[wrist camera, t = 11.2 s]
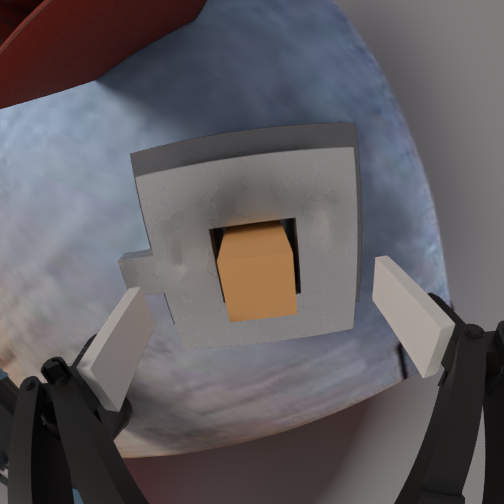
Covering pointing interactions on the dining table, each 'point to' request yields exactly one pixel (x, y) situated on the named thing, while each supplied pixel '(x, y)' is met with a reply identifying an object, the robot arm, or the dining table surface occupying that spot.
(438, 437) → the robot arm
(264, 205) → the tabbed square frame
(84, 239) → the dining table surface
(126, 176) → the dining table surface
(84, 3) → the plant pot
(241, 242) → the orange rectangular block
